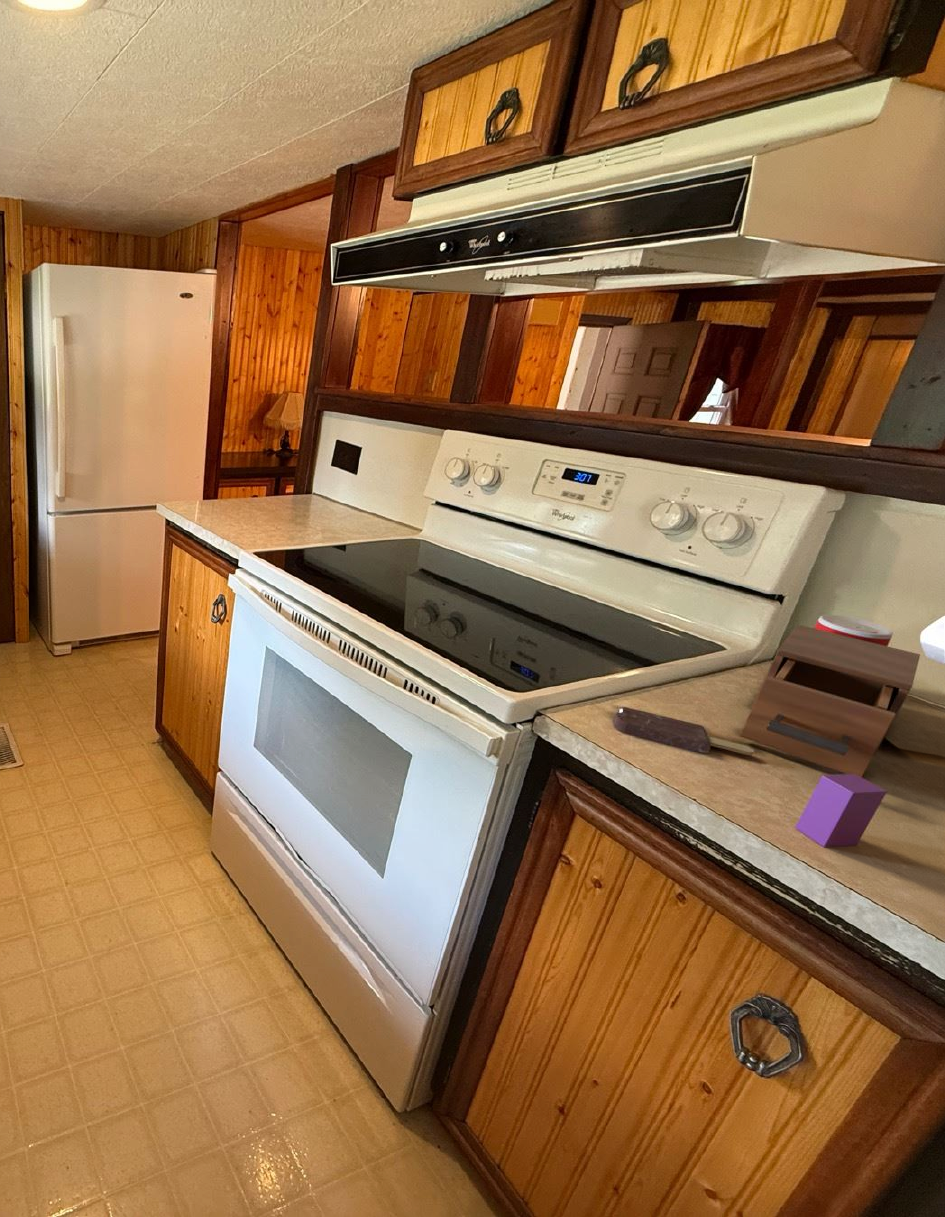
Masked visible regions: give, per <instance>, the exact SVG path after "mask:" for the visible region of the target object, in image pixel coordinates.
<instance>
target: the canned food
mask: <svg viewBox="0 0 945 1217" xmlns="http://www.w3.org/2000/svg"><path fill="white" fill-rule="evenodd" d="M813 628H814V629H818V630H822V631H826V632H830V633H834V634H838V635H843V636H847V637H851V638H855V639H859V640H863V641H867V642H871V643H875V644H880V645H884V646H888V647H889V644H890V642H891V640H892V638H893V635H894V632H893V631H892V630H890V629H889V628H887V627H885V626H883V625H880V624H878V623H875V622H871V621H867V620H863V619H860V618H854V617H850V616H844V615H838V614H837V615H835V614H824V615H820V616H819V618H818V619H817V621H816V623H815V625H814V627H813Z"/></svg>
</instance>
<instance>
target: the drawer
mask: <svg viewBox="0 0 945 1217" xmlns="http://www.w3.org/2000/svg"><path fill="white" fill-rule="evenodd" d="M766 676H767V675H766ZM766 676H765V678H764V680H765V681H764V680H763V683H762V685H761V687H760V689H761V690H759V691H760V692H758V693H757V696H756V698H755V700H756V701H755V700H754V703H753V704H752V707H751V709H752V710H751V709H750V711H749V713H748V716H747V718H746V721H745V723H744V726H743V727H742V730H741V732H740V734H739V737H740V738H743V739H746V740H749V741H751V742H754V743H757V744H761V745H763V746H766V747H769V748H772V749H775V750H778V751H780V752H782V753H783V752H784V753H786V754H788V755H792V756H794V757H797V758H801V759H803V760H806V761H809V762H812V763H815V764H818V765H821V766H824V767H826V768H829V769H831V770H835V771H837V772H840V773H842V774H856V775H858V776H859V777H861V778H863V775H864V773H865V771H866V770H867V768H868V766H869V764H870V763H871V761H872V759H873V757H874V756H875V755H874V753H875V751H876V750H877V748H878V746H879V744H880V742H881V740H882V739H883V737H884V735H885V733H886V731H887V729H888V728H889V726H890V724H891V722H892V720H893V719H894V717H895V713H893V712H890V711H886V710H887V708H888V704H889V701H890V698H891V695H892V691H893V688H894V687H893V686H889V685H886V684H882V683H878V682H875V681H871V680H867V679H864V678H860V677H856V676H853V675H849V674H845V673H842V672H838V671H834V670H831V669H827V668H823V667H820V666H816V665H812V664H809V663H805V662H801V661H798V660H794V659H790V658H789V659H788V661H787V662H786V663H785V665H784V666H783V668H782V669H781V670H780V672H779V673H778V674H777V676H776V678H773V677H770V676H767V677H766ZM895 718H896V717H895ZM894 720H895V719H894ZM892 723H893V722H892ZM891 725H892V724H891ZM890 727H891V726H890ZM889 729H890V728H889ZM886 734H887V733H886ZM885 736H886V735H885ZM884 738H885V737H884ZM883 740H884V739H883ZM880 745H881V744H880ZM879 747H880V746H879ZM878 749H879V748H878ZM877 751H878V750H877ZM877 751H876V752H877ZM875 754H876V753H875ZM873 755H874V756H873Z"/></svg>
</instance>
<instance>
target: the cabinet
mask: <svg viewBox="0 0 945 1217" xmlns="http://www.w3.org/2000/svg"><path fill="white" fill-rule="evenodd" d="M920 657H921V654H920V653H917V652H913V651H908V650H905V649H899V648H895V647H892V646H889V645H888V646H884V645H880V644H875V643H871V642H867V641H863V640H859V639H855V638H851V637H847V636H843V635H838V634H834V633H830V632H826V631H822V630H818V629H814V627H810V626H805V625H801V624H797V625H796V626H795V627H794V629H793V630H792V631H791V633H790V634H789V635H788V637H787V638H786V639H785V640H784V642H783V643H782V644H781V646H779V648H778V650H777V652H776V654H775V656H774V658H773V661H772V663H771V665H770V667H769V669H768V671H767V673H766V676H765V678H766V677H767V676H770V677H773V678H776V676H777V674H778V673H779V672H780V670H781V669H782V668H783V666H784V665H785V663H786V662H787V661H788V659H789V658H790V659H794V660H798V661H801V662H805V663H809V664H812V665H816V666H820V667H823V668H827V669H831V670H834V671H838V672H842V673H845V674H849V675H853V676H856V677H860V678H864V679H867V680H871V681H875V682H878V683H882V684H886V685H889V686H893V687H894V688H893V691H892V695H891V698H890V701H889V704H888V708H887V710H886V711H890V712H893V713H895V717H894V719H893V720H892V722H891V724H890V726H889V728H888V729H887V731H886V733H885V735H884V737H883V739H882V740H881V742H880V744H879V746H878V748H877V750H876V751H875V753H874V755H873V757H875V756H876V753H877V752H878V750H879V748H880V746H881V744H882V742H883V741H884V739H885V737H886V735H887V733H888V731H889V730H890V728H891V726H892V724H893V722H894V721H895V719H896V718H897V717H896V716H897V714H898V713H899V712H900V709H901V708H902V706H903V705H904V702H905V700H906V699H907V697H908V695H909V693H910V691H911V689H912V688H913V685H914V681H915V677H916V674H917V670H918V665H919V661H920ZM764 681H765V679H764V680H763V682H764ZM760 690H761V688H760ZM760 690H759V692H760ZM759 692H758V693H759ZM755 701H756V699H755V700H754V702H755ZM751 710H752V708H751V709H750V711H751Z"/></svg>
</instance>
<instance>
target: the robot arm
mask: <svg viewBox="0 0 945 1217" xmlns="http://www.w3.org/2000/svg"><path fill="white" fill-rule="evenodd" d="M919 643H920V645H921V648H922V651H923V653H924V655H925V656H926V657H927V658H928V659H930V660H933V661H935V662H938V663H940V664H943V665H945V615H943V616H942V617H940V618H938V619H937V620H935V621H934V622H932V623H931V624H929V625H928V626H926V627H925V628H924V629H923V630H922V631H921V632H920V635H919Z"/></svg>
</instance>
